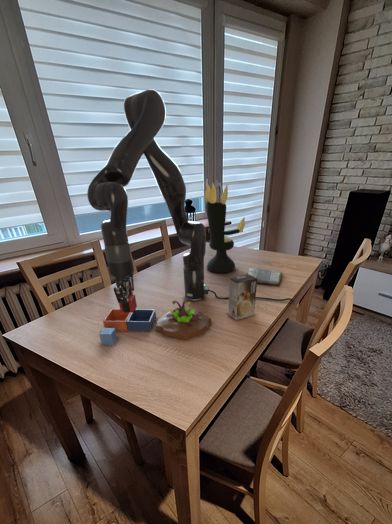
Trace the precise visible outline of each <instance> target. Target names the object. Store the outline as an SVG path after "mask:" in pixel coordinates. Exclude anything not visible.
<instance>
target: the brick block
mask: <svg viewBox="0 0 392 524" xmlns="http://www.w3.org/2000/svg"><path fill="white" fill-rule="evenodd" d="M122 299H123V298H122ZM128 302H129V307H130V312H134V311H135V309H137V307H138V305H137V299H136V295H135V294H133V295H128ZM118 306H119V309H120V310H121V312H123V308H122V303H118Z"/></svg>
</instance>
